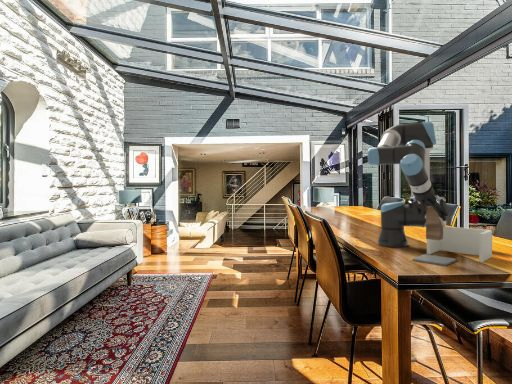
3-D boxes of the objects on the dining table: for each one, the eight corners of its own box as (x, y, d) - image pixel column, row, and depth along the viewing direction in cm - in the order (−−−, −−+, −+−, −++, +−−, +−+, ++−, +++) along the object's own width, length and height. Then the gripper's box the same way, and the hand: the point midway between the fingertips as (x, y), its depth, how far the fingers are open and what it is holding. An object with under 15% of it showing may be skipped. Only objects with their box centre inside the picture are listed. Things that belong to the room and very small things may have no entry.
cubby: (482, 262, 136) (482, 234, 135) (426, 253, 153) (426, 228, 152) (492, 256, 145) (492, 230, 144) (438, 249, 162) (438, 225, 161)
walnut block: (438, 240, 136) (438, 207, 135) (426, 238, 140) (426, 206, 139) (443, 239, 139) (443, 206, 138) (430, 237, 143) (431, 206, 142)
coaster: (412, 260, 141) (412, 258, 140) (424, 255, 149) (424, 254, 149) (444, 266, 131) (444, 264, 131) (456, 260, 139) (456, 258, 139)
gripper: (396, 193, 135) (414, 228, 146) (443, 194, 122) (458, 232, 133) (402, 181, 139) (419, 216, 150) (448, 180, 125) (463, 219, 136)
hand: (437, 224), depth 141 cm, fingers closed on walnut block, 5 cm apart
